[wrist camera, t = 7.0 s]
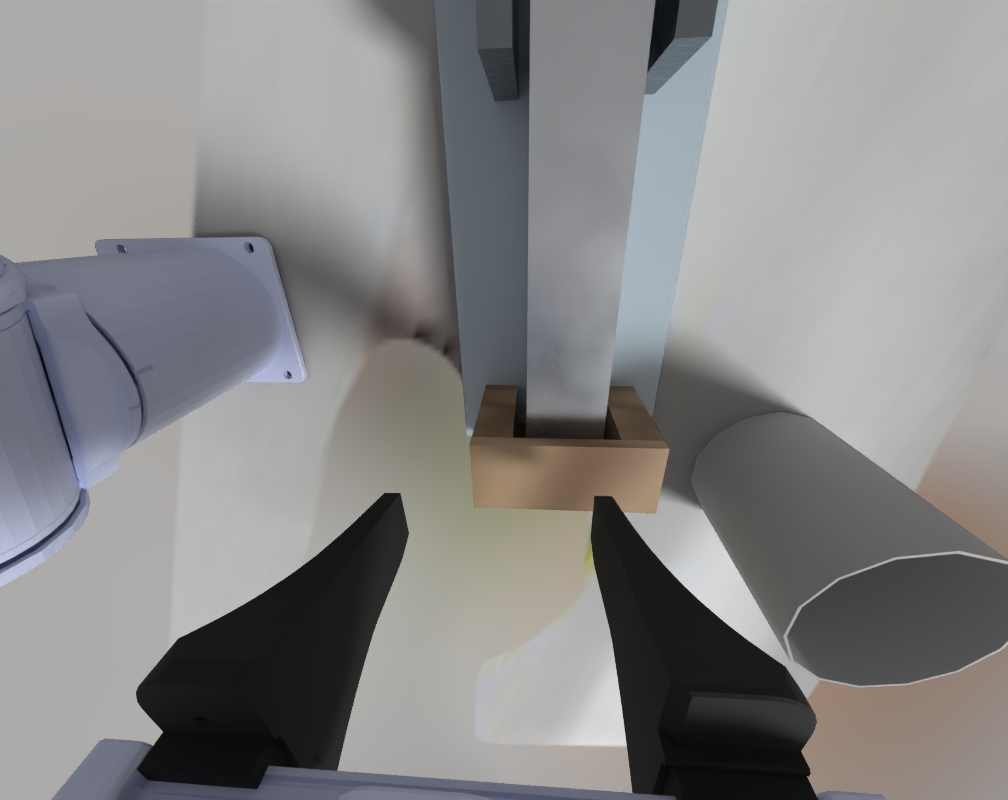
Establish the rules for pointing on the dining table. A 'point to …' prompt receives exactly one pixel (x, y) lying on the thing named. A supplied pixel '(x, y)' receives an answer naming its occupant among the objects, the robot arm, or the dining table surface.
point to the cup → (849, 556)
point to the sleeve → (674, 40)
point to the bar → (580, 201)
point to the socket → (566, 458)
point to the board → (504, 210)
